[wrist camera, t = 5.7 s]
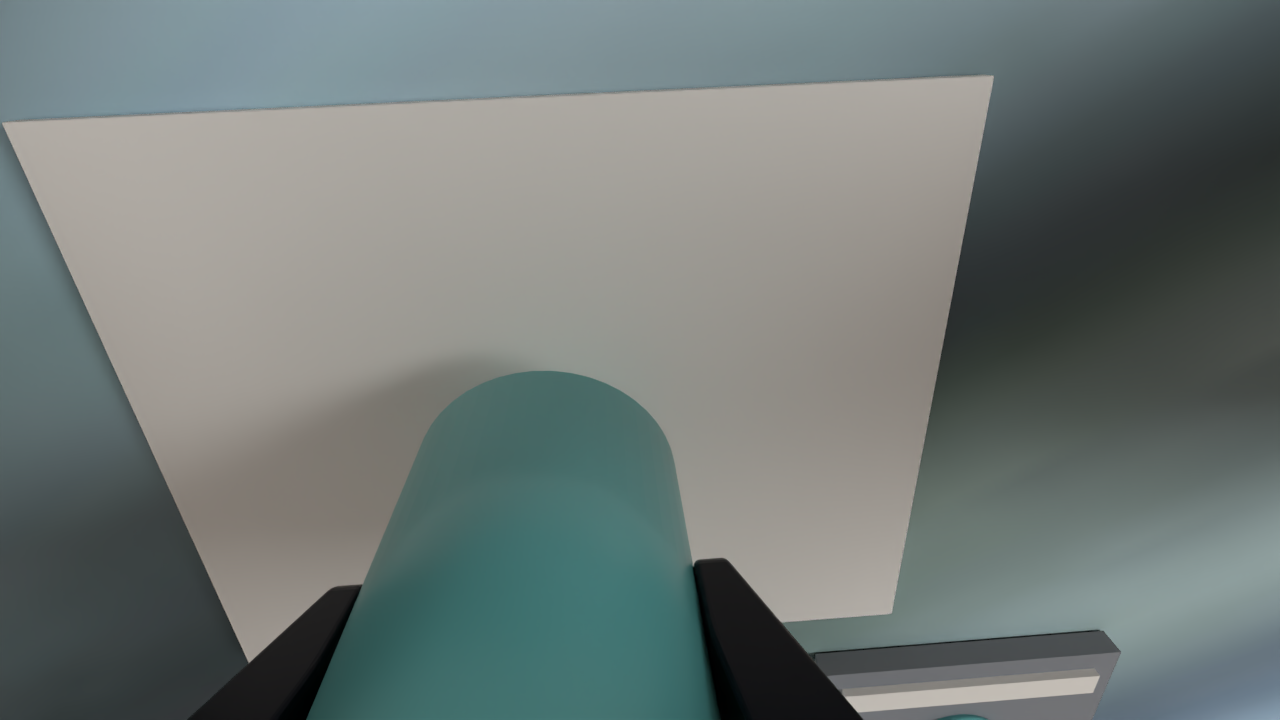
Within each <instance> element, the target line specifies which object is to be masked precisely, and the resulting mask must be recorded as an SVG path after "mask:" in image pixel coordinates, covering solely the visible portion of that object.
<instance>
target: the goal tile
mask: <svg viewBox="0 0 1280 720" xmlns="http://www.w3.org/2000/svg"><path fill="white" fill-rule="evenodd" d="M1120 654H1121V651H1120V650H1119V649H1118V648H1117V647H1116V645H1115V644H1114V643H1113V642H1112V641H1111V639H1110V638H1109V637H1108V636H1107V635H1106V634H1105V632H1104V631H1095V632H1082V633H1070V634H1057V635H1045V636H1032V637H1020V638H1008V639H995V640H983V641H970V642H958V643H945V644H933V645H920V646H908V647H895V648H883V649H870V650H858V651H846V652H833V653H821V654H815V660H814V662H815V663H816V664H817V665H818V666H819V668H820V669H821V670H822V671H823V672H824V673H825V675H826V676H827V677H828V678H829V679H830V681H831V682H832V683H833V684H834V685H835V686H836V688H837V689H838V690H839V691H840V692H841V693H842V695H843V696H844V697H845V698H846V699H847V701H848V702H849V703H850V704H851V705H852V706H853V708H854V709H855V710H856V711H857V712H858V713H859V715H860V716H861V717H862V718H863V719H864V720H1092V719H1093V716H1094V714H1095V712H1096V709H1097V707H1098V705H1099V702H1100V700H1101V698H1102V695H1103V693H1104V691H1105V688H1106V686H1107V684H1108V681H1109V679H1110V677H1111V674H1112V672H1113V670H1114V667H1115V665H1116V663H1117V660H1118V658H1119V656H1120Z"/></svg>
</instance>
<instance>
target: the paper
mask: <svg viewBox="0 0 1280 720" xmlns="http://www.w3.org/2000/svg"><path fill="white" fill-rule="evenodd" d="M993 79H994V76H991V75H962V76H941V77H920V78H899V79H878V80H856V81H835V82H814V83H793V84H772V85H750V86H729V87H708V88H687V89H665V90H644V91H623V92H602V93H581V94H559V95H538V96H517V97H496V98H474V99H453V100H432V101H411V102H390V103H368V104H347V105H326V106H305V107H283V108H262V109H241V110H220V111H199V112H177V113H156V114H135V115H114V116H92V117H71V118H50V119H29V120H16V121H9V122H3V123H2V124H3V126H4V129H5V131H6V133H7V135H8V137H9V139H10V142H11V144H12V146H13V148H14V150H15V153H16V155H17V157H18V159H19V161H20V164H21V166H22V168H23V170H24V172H25V175H26V177H27V179H28V181H29V183H30V185H31V188H32V190H33V192H34V194H35V196H36V199H37V201H38V203H39V205H40V207H41V210H42V212H43V214H44V216H45V218H46V220H47V223H48V225H49V227H50V229H51V231H52V234H53V236H54V238H55V240H56V242H57V245H58V247H59V249H60V251H61V253H62V255H63V258H64V260H65V262H66V264H67V266H68V269H69V271H70V273H71V275H72V277H73V280H74V282H75V284H76V286H77V288H78V290H79V293H80V295H81V297H82V299H83V301H84V304H85V306H86V308H87V310H88V312H89V315H90V317H91V319H92V321H93V323H94V325H95V328H96V330H97V332H98V334H99V336H100V339H101V341H102V343H103V345H104V347H105V350H106V352H107V354H108V356H109V358H110V361H111V363H112V365H113V367H114V369H115V371H116V374H117V376H118V378H119V380H120V382H121V385H122V387H123V389H124V391H125V393H126V396H127V398H128V400H129V402H130V404H131V406H132V409H133V411H134V413H135V415H136V417H137V420H138V422H139V424H140V426H141V428H142V431H143V433H144V435H145V437H146V439H147V441H148V444H149V446H150V448H151V450H152V452H153V455H154V457H155V459H156V461H157V463H158V466H159V468H160V470H161V472H162V474H163V476H164V479H165V481H166V483H167V485H168V487H169V490H170V492H171V494H172V496H173V498H174V501H175V503H176V505H177V507H178V509H179V511H180V514H181V516H182V518H183V520H184V522H185V525H186V527H187V529H188V531H189V533H190V536H191V538H192V540H193V542H194V544H195V547H196V549H197V551H198V553H199V555H200V557H201V560H202V562H203V564H204V566H205V568H206V571H207V573H208V575H209V577H210V579H211V582H212V584H213V586H214V588H215V590H216V592H217V595H218V597H219V599H220V601H221V603H222V606H223V608H224V610H225V612H226V614H227V617H228V619H229V621H230V623H231V625H232V627H233V630H234V632H235V634H236V636H237V638H238V641H239V643H240V645H241V647H242V649H243V652H244V654H245V656H246V658H247V660H248V662H250V661H252V660H253V659H254V658H255V657H256V656H257V655H258V654H259V653H260V652H261V651H262V650H264V649H265V648H266V647H267V646H268V645H269V644H270V643H271V642H272V641H273V640H274V639H276V638H277V637H278V636H279V635H280V634H281V633H282V632H283V631H284V630H285V629H286V628H288V627H289V626H290V625H291V624H292V623H293V622H294V621H295V620H296V619H297V618H298V617H300V616H301V615H302V614H303V613H304V612H305V611H306V610H307V609H308V608H309V607H310V606H312V605H313V604H314V603H315V602H316V601H317V600H318V599H319V598H320V597H321V596H322V595H324V594H325V593H326V592H327V591H328V590H330V589H331V588H333V587H336V586H344V585H358V584H363V583H364V580H365V578H366V575H367V573H368V571H369V568H370V566H371V563H372V561H373V559H374V556H375V554H376V551H377V549H378V547H379V544H380V542H381V540H382V537H383V535H384V532H385V530H386V528H387V525H388V523H389V520H390V518H391V516H392V513H393V511H394V508H395V506H396V504H397V501H398V499H399V496H400V494H401V492H402V489H403V487H404V484H405V482H406V480H407V477H408V475H409V472H410V470H411V468H412V465H413V463H414V461H415V458H416V456H417V453H418V451H419V449H420V446H421V444H422V441H423V439H424V437H425V435H426V433H427V431H428V430H429V428H430V426H431V424H432V423H433V422H434V420H435V419H436V418H437V417H438V415H439V414H440V413H441V412H442V411H443V410H444V409H445V408H446V407H447V406H448V405H449V404H450V403H451V402H452V401H454V400H455V399H456V398H458V397H459V396H461V395H462V394H463V393H465V392H466V391H468V390H470V389H472V388H474V387H476V386H478V385H480V384H482V383H484V382H487V381H490V380H492V379H495V378H498V377H501V376H506V375H510V374H514V373H521V372H529V371H558V372H567V373H573V374H578V375H582V376H586V377H590V378H593V379H596V380H598V381H601V382H604V383H606V384H608V385H610V386H612V387H614V388H616V389H618V390H620V391H622V392H623V393H625V394H626V395H628V396H629V397H631V398H632V399H634V400H635V401H636V402H637V403H639V404H640V405H641V406H642V407H643V408H644V409H645V410H647V412H648V413H649V414H650V415H651V416H652V417H653V418H654V420H655V421H656V422H657V423H658V425H659V426H660V428H661V430H662V431H663V433H664V434H665V436H666V439H667V441H668V443H669V445H670V448H671V451H672V455H673V459H674V463H675V468H676V474H677V479H678V485H679V490H680V496H681V501H682V507H683V512H684V518H685V523H686V529H687V534H688V540H689V545H690V551H691V556H692V562H693V566H694V563H695V561H697V560H699V559H710V558H725V559H727V560H728V561H729V562H730V563H731V564H732V565H733V566H734V568H735V569H736V570H737V571H738V572H739V573H740V575H741V576H742V577H743V578H744V579H745V580H746V582H747V583H748V584H749V585H750V586H751V588H752V589H753V590H754V591H755V592H756V593H757V595H758V596H759V597H760V598H761V599H762V600H763V602H764V603H765V604H766V605H767V606H768V608H769V609H770V610H771V611H772V612H773V613H774V615H775V616H776V617H777V618H778V619H779V620H780V622H793V621H806V620H819V619H832V618H845V617H857V616H870V615H883V614H892V608H893V603H894V598H895V593H896V587H897V582H898V577H899V572H900V567H901V561H902V556H903V551H904V546H905V540H906V535H907V530H908V525H909V519H910V514H911V509H912V504H913V498H914V493H915V488H916V483H917V477H918V472H919V467H920V462H921V456H922V451H923V446H924V441H925V435H926V430H927V425H928V420H929V415H930V409H931V404H932V399H933V394H934V388H935V383H936V378H937V373H938V367H939V362H940V357H941V352H942V346H943V341H944V336H945V331H946V325H947V320H948V315H949V310H950V304H951V299H952V294H953V289H954V283H955V278H956V273H957V268H958V263H959V257H960V252H961V247H962V242H963V236H964V231H965V226H966V221H967V215H968V210H969V205H970V200H971V194H972V189H973V184H974V179H975V173H976V168H977V163H978V158H979V152H980V147H981V142H982V137H983V131H984V126H985V121H986V116H987V111H988V105H989V100H990V95H991V90H992V84H993Z"/></svg>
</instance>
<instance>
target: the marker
mask: <svg viewBox="0 0 1280 720" xmlns="http://www.w3.org/2000/svg"><path fill="white" fill-rule="evenodd" d="M306 720H721V716H720V711H719V705H718V700H717V694H716V689H715V683H714V678H713V673H712V668H711V662H710V657H709V652H708V647H707V641H706V636H705V630H704V625H703V619H702V613H701V608H700V602H699V597H698V591H697V586H696V580H695V575H694V569H693V562H692V556H691V551H690V545H689V540H688V534H687V529H686V523H685V518H684V512H683V507H682V501H681V496H680V490H679V485H678V479H677V474H676V468H675V463H674V459H673V455H672V451H671V448H670V445H669V443H668V441H667V439H666V436H665V434H664V433H663V431H662V430H661V428H660V426H659V425H658V423H657V422H656V421H655V420H654V418H653V417H652V416H651V415H650V414H649V413H648V412H647V410H645V409H644V408H643V407H642V406H641V405H640V404H639V403H637V402H636V401H635V400H634V399H632V398H631V397H629V396H628V395H626V394H625V393H623V392H622V391H620V390H618V389H616V388H614V387H612V386H610V385H608V384H606V383H604V382H601V381H598V380H596V379H593V378H590V377H586V376H582V375H578V374H573V373H567V372H558V371H529V372H521V373H514V374H510V375H506V376H501V377H498V378H495V379H492V380H490V381H487V382H484V383H482V384H480V385H478V386H476V387H474V388H472V389H470V390H468V391H466V392H465V393H463V394H462V395H461V396H459V397H458V398H456V399H455V400H454V401H452V402H451V403H450V404H449V405H448V406H447V407H446V408H445V409H444V410H443V411H442V412H441V413H440V414H439V415H438V417H437V418H436V419H435V420H434V422H433V423H432V424H431V426H430V428H429V430H428V431H427V433H426V435H425V437H424V439H423V441H422V444H421V446H420V449H419V451H418V453H417V456H416V458H415V461H414V463H413V465H412V468H411V470H410V472H409V475H408V477H407V480H406V482H405V484H404V487H403V489H402V492H401V494H400V496H399V499H398V501H397V504H396V506H395V508H394V511H393V513H392V516H391V518H390V520H389V523H388V525H387V528H386V530H385V532H384V535H383V537H382V540H381V542H380V544H379V547H378V549H377V551H376V554H375V556H374V559H373V561H372V563H371V566H370V568H369V571H368V573H367V575H366V578H365V580H364V583H363V585H362V587H361V590H360V592H359V595H358V597H357V599H356V602H355V604H354V607H353V609H352V611H351V614H350V616H349V618H348V621H347V623H346V626H345V628H344V630H343V633H342V635H341V638H340V640H339V642H338V645H337V647H336V650H335V652H334V654H333V657H332V659H331V662H330V664H329V666H328V669H327V671H326V674H325V676H324V678H323V681H322V683H321V685H320V688H319V690H318V693H317V695H316V697H315V700H314V702H313V705H312V707H311V709H310V712H309V714H308V717H307V719H306Z"/></svg>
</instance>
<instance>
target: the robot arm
mask: <svg viewBox="0 0 1280 720" xmlns="http://www.w3.org/2000/svg"><path fill="white" fill-rule="evenodd" d="M693 569H694V575H695V580H696V586H697V591H698V597H699V602H700V608H701V613H702V619H703V625H704V630H705V636H706V641H707V647H708V652H709V657H710V662H711V668H712V673H713V678H714V683H715V689H716V694H717V700H718V705H719V711H720V716H721V720H864V719H863V718H862V717H861V716H860V715H859V713H858V712H857V711H856V710H855V709H854V708H853V706H852V705H851V704H850V703H849V702H848V701H847V699H846V698H845V697H844V696H843V695H842V693H841V692H840V691H839V690H838V689H837V688H836V686H835V685H834V684H833V683H832V682H831V681H830V679H829V678H828V677H827V676H826V675H825V673H824V672H823V671H822V670H821V669H820V668H819V666H818V665H817V664H816V663H815V662H814V660H813V659H812V658H811V657H810V656H809V655H808V653H807V652H806V651H805V650H804V649H803V648H802V646H801V645H800V644H799V643H798V642H797V640H796V639H795V638H794V637H793V636H792V635H791V633H790V632H789V631H788V630H787V629H786V628H785V626H784V625H783V624H782V623H781V622H780V620H779V619H778V618H777V617H776V616H775V615H774V613H773V612H772V611H771V610H770V609H769V608H768V606H767V605H766V604H765V603H764V602H763V600H762V599H761V598H760V597H759V596H758V595H757V593H756V592H755V591H754V590H753V589H752V588H751V586H750V585H749V584H748V583H747V582H746V580H745V579H744V578H743V577H742V576H741V575H740V573H739V572H738V571H737V570H736V569H735V568H734V566H733V565H732V564H731V563H730V562H729V561H728V560H727V559H725V558H710V559H699V560H697V561H695V563H694V566H693ZM362 585H363V584H358V585H344V586H336V587H333V588H331V589H330V590H328V591H327V592H326V593H325V594H324V595H322V596H321V597H320V598H319V599H318V600H317V601H316V602H315V603H314V604H313V605H312V606H310V607H309V608H308V609H307V610H306V611H305V612H304V613H303V614H302V615H301V616H300V617H298V618H297V619H296V620H295V621H294V622H293V623H292V624H291V625H290V626H289V627H288V628H286V629H285V630H284V631H283V632H282V633H281V634H280V635H279V636H278V637H277V638H276V639H274V640H273V641H272V642H271V643H270V644H269V645H268V646H267V647H266V648H265V649H264V650H262V651H261V652H260V653H259V654H258V655H257V656H256V657H255V658H254V659H253V660H252V661H250V662H249V663H248V664H247V665H246V666H245V667H244V668H243V669H242V670H241V671H240V672H238V673H237V674H236V675H235V676H234V677H233V678H232V679H231V680H230V681H229V682H228V683H226V684H225V685H224V686H223V687H222V688H221V689H220V690H219V691H218V692H217V693H216V694H214V695H213V696H212V697H211V698H210V699H209V700H208V701H207V702H206V703H205V704H204V705H202V706H201V707H200V708H199V709H198V710H197V711H196V712H195V713H194V714H193V715H192V716H190V717H189V718H188V719H187V720H306V719H307V717H308V714H309V712H310V709H311V707H312V705H313V702H314V700H315V697H316V695H317V693H318V690H319V688H320V685H321V683H322V681H323V678H324V676H325V674H326V671H327V669H328V666H329V664H330V662H331V659H332V657H333V654H334V652H335V650H336V647H337V645H338V642H339V640H340V638H341V635H342V633H343V630H344V628H345V626H346V623H347V621H348V618H349V616H350V614H351V611H352V609H353V607H354V604H355V602H356V599H357V597H358V595H359V592H360V590H361V587H362Z"/></svg>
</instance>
